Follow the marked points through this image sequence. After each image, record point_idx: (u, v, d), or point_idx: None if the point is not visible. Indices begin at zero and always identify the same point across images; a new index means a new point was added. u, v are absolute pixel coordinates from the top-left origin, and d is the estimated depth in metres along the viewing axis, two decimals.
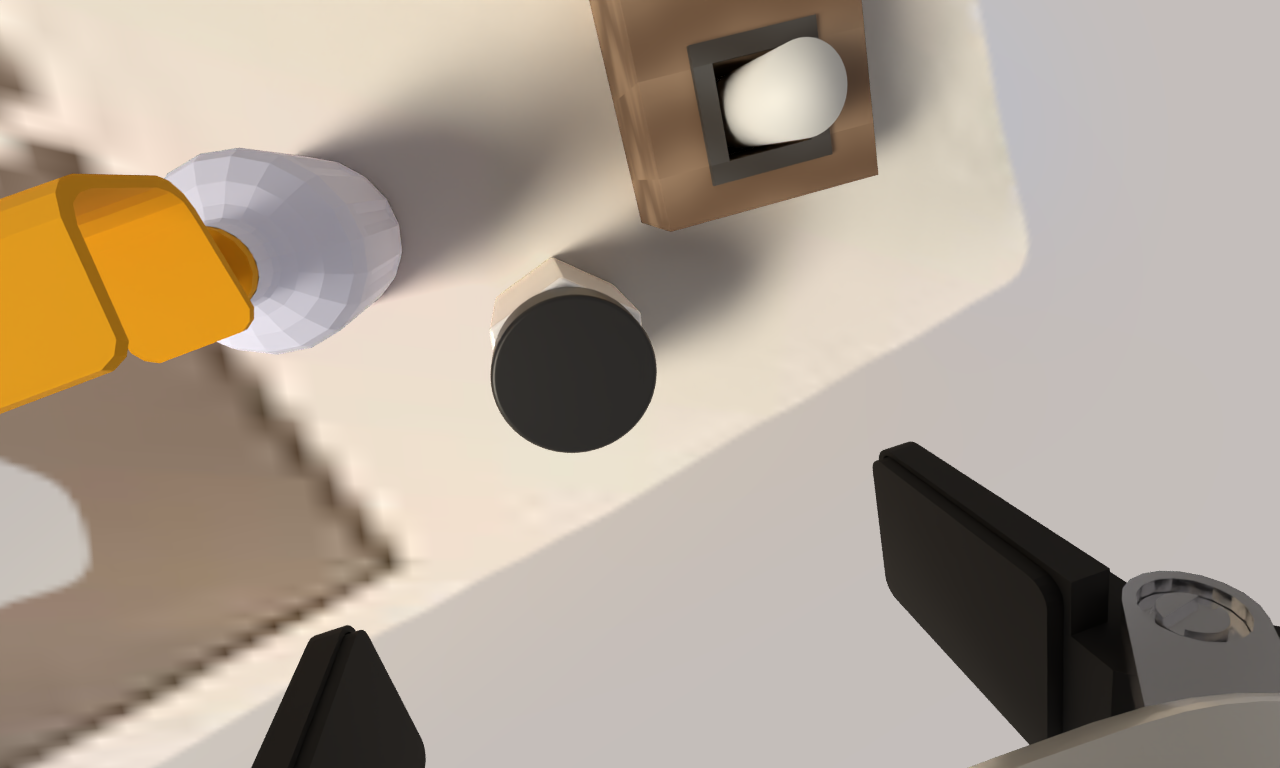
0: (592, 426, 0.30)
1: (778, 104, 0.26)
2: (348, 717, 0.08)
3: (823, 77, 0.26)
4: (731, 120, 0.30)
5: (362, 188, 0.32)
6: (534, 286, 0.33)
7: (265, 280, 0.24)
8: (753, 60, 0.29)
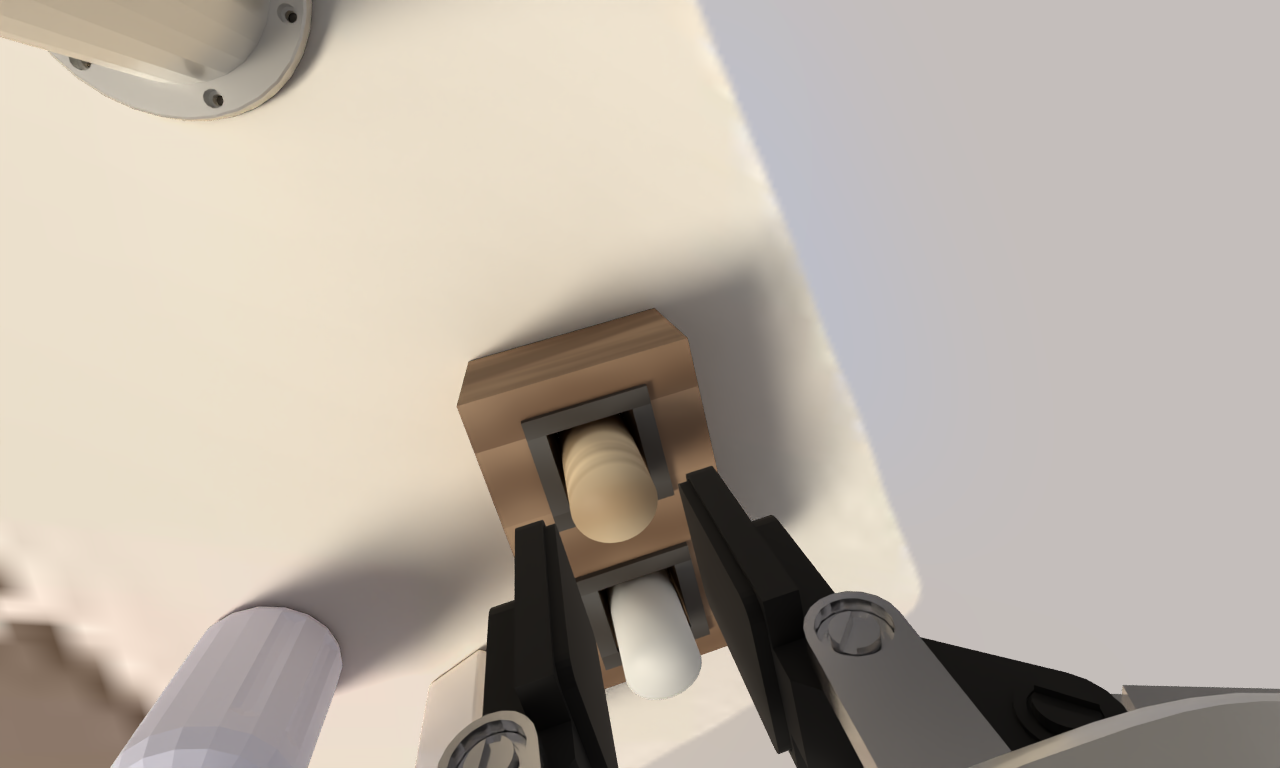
0: None
1: (641, 681, 0.31)
2: (566, 585, 0.10)
3: (679, 658, 0.31)
4: None
5: (300, 660, 0.37)
6: (452, 737, 0.38)
7: None
8: (630, 600, 0.33)
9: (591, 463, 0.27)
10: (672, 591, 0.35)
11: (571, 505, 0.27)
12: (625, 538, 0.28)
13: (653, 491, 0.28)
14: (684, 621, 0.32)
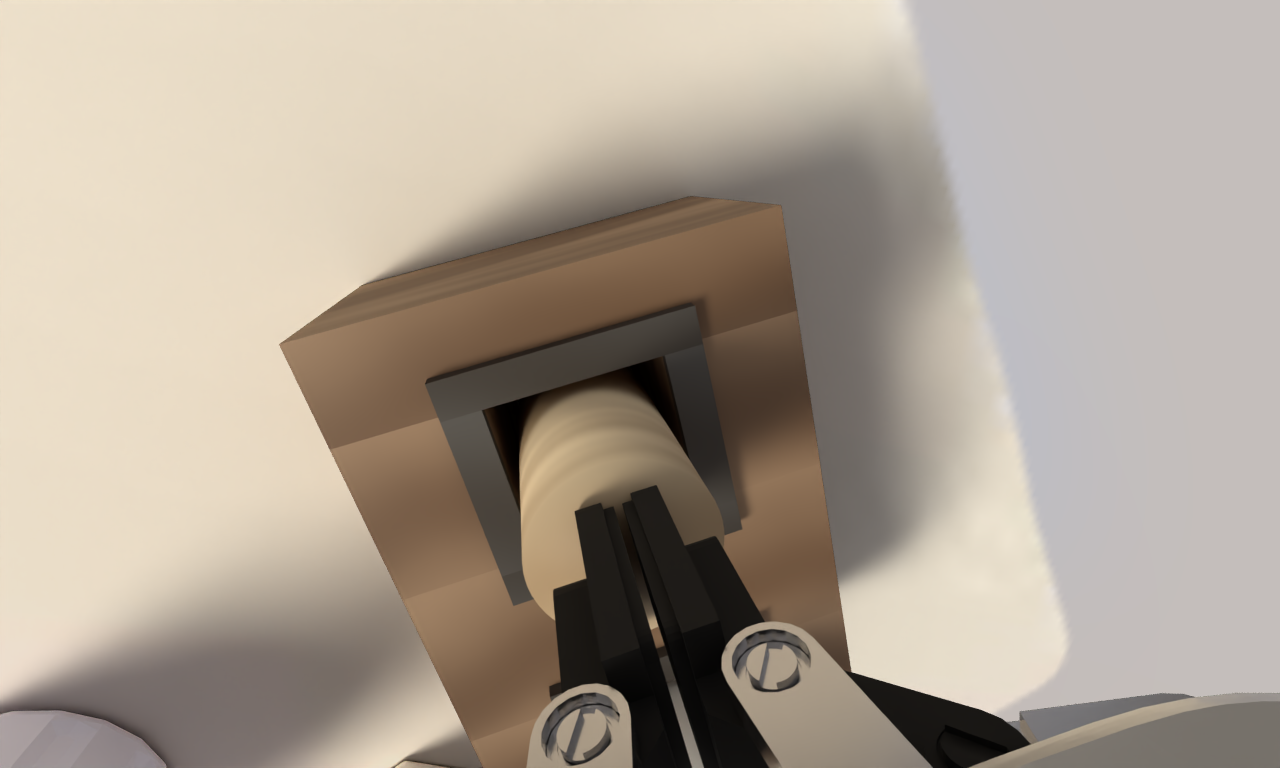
0: None
1: None
2: None
3: None
4: None
5: None
6: None
7: None
8: None
9: (573, 456, 0.12)
10: None
11: (524, 557, 0.11)
12: (650, 625, 0.12)
13: (715, 521, 0.12)
14: None
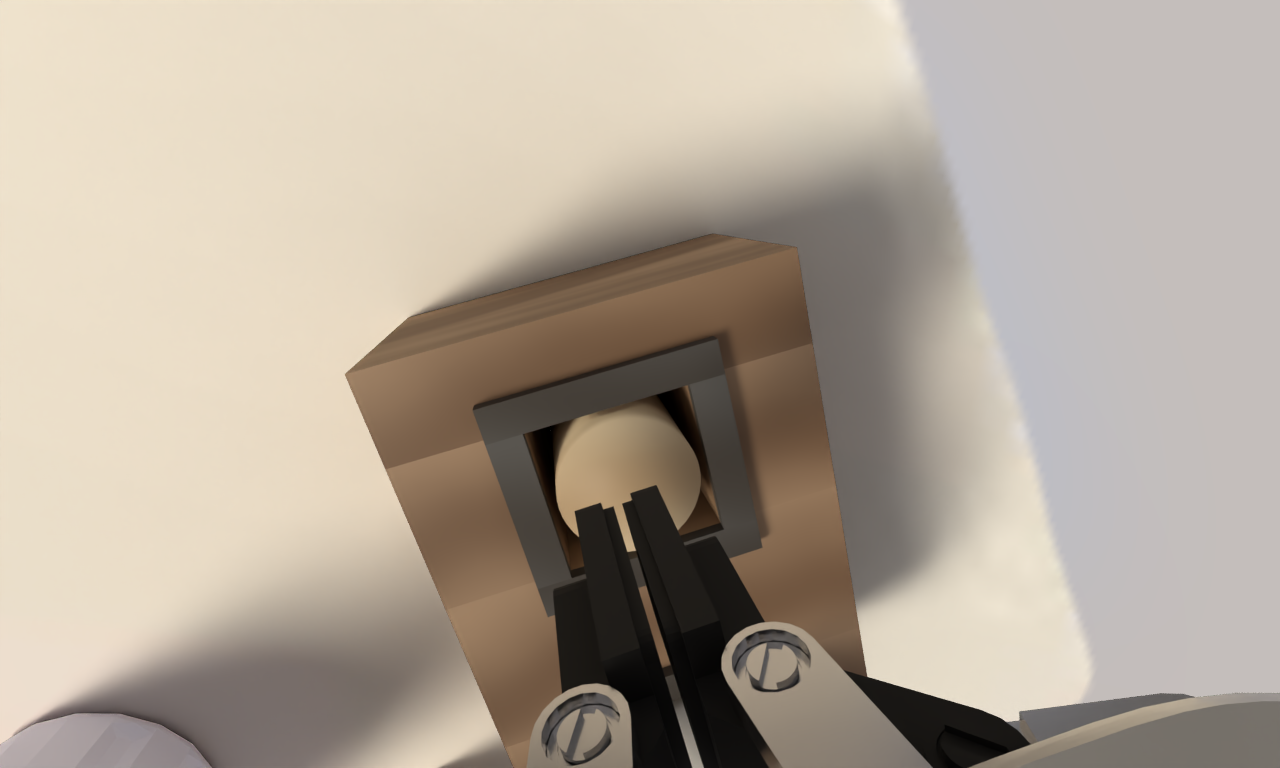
0: None
1: None
2: None
3: None
4: None
5: None
6: None
7: None
8: None
9: (592, 418, 0.17)
10: None
11: (557, 487, 0.16)
12: None
13: (694, 466, 0.17)
14: None
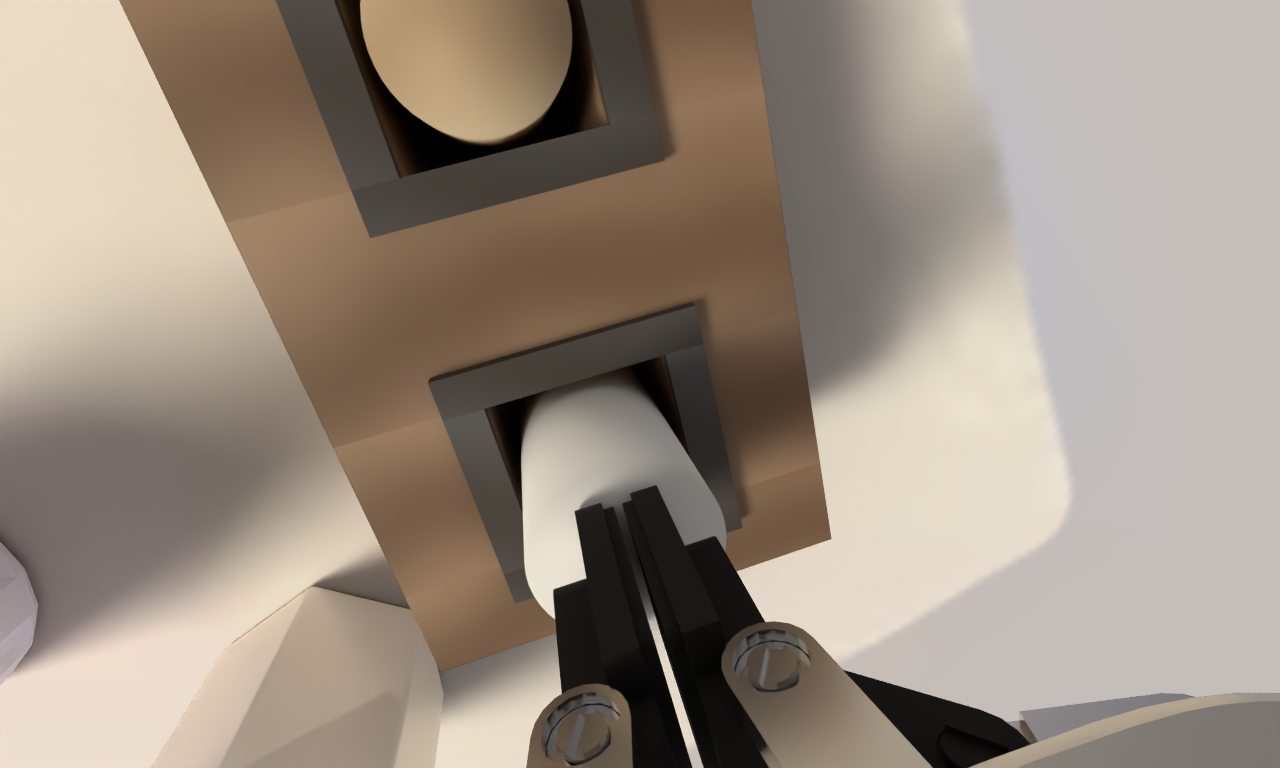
0: None
1: None
2: None
3: None
4: None
5: None
6: (204, 748, 0.18)
7: None
8: (555, 414, 0.14)
9: None
10: (655, 407, 0.16)
11: (362, 13, 0.11)
12: (502, 130, 0.13)
13: (561, 5, 0.12)
14: (682, 449, 0.13)
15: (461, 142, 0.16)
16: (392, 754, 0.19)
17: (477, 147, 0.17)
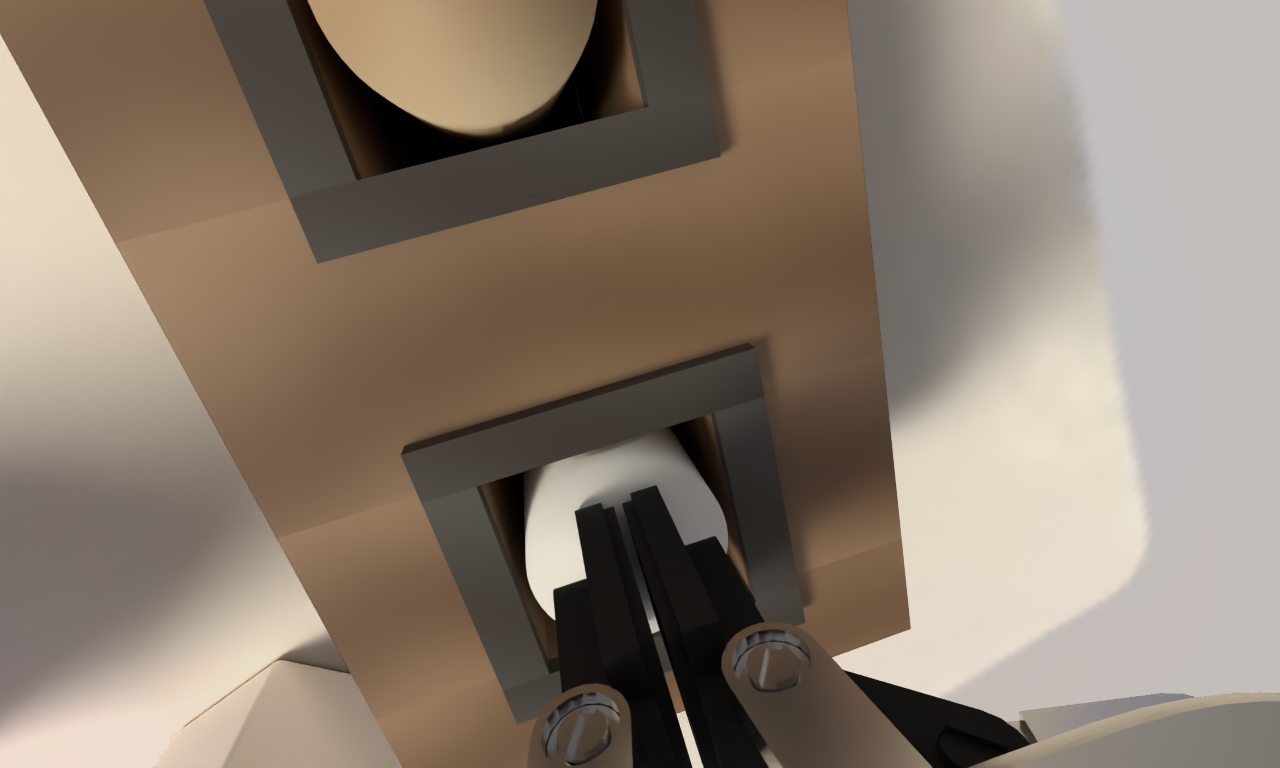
0: None
1: None
2: None
3: None
4: None
5: None
6: None
7: None
8: None
9: None
10: None
11: None
12: (500, 114, 0.09)
13: None
14: (684, 452, 0.13)
15: (448, 134, 0.12)
16: None
17: (469, 141, 0.13)
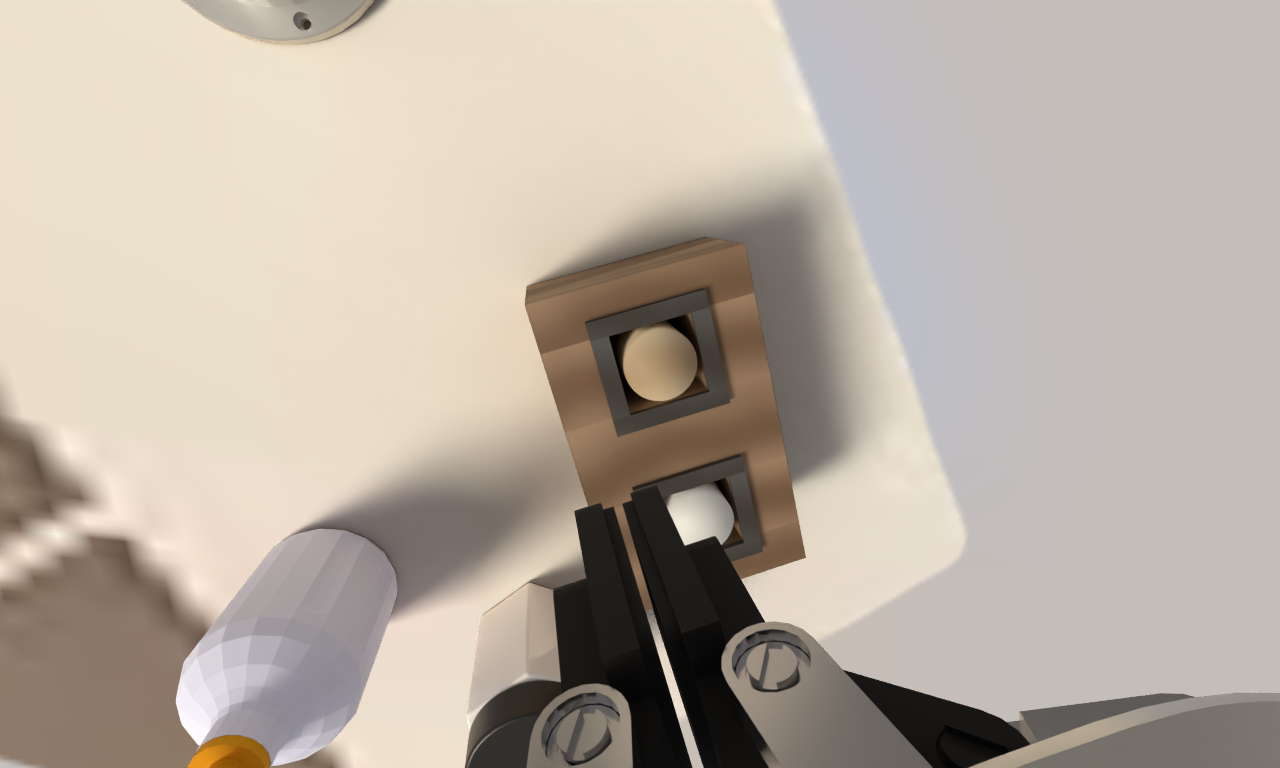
0: None
1: (681, 535, 0.36)
2: None
3: (715, 515, 0.36)
4: None
5: (362, 574, 0.38)
6: (507, 655, 0.38)
7: (276, 753, 0.29)
8: None
9: (642, 331, 0.33)
10: None
11: (625, 364, 0.32)
12: (669, 397, 0.33)
13: (693, 355, 0.33)
14: (718, 488, 0.37)
15: None
16: None
17: None
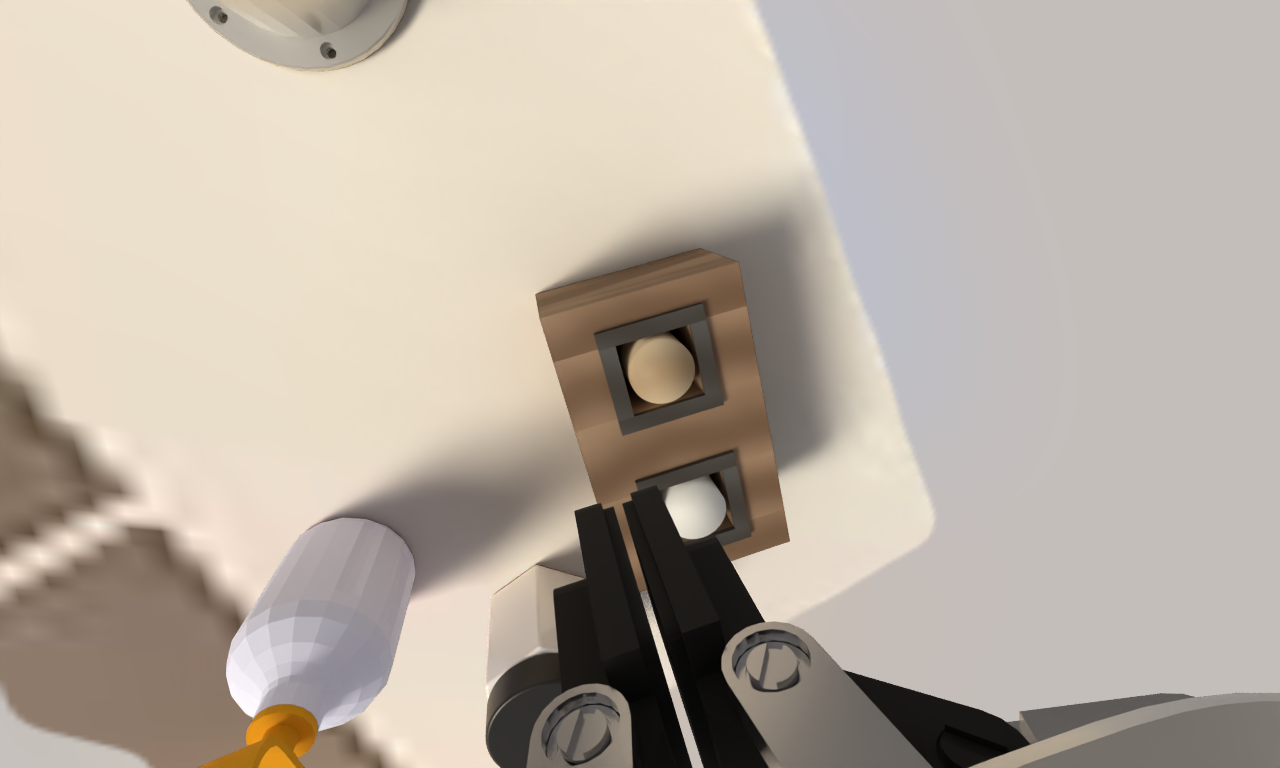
0: None
1: (679, 522, 0.39)
2: None
3: (709, 504, 0.39)
4: None
5: (386, 560, 0.41)
6: (520, 630, 0.42)
7: (321, 719, 0.33)
8: None
9: (645, 340, 0.36)
10: None
11: (630, 371, 0.36)
12: (669, 400, 0.37)
13: (691, 362, 0.36)
14: (711, 480, 0.41)
15: None
16: None
17: None
